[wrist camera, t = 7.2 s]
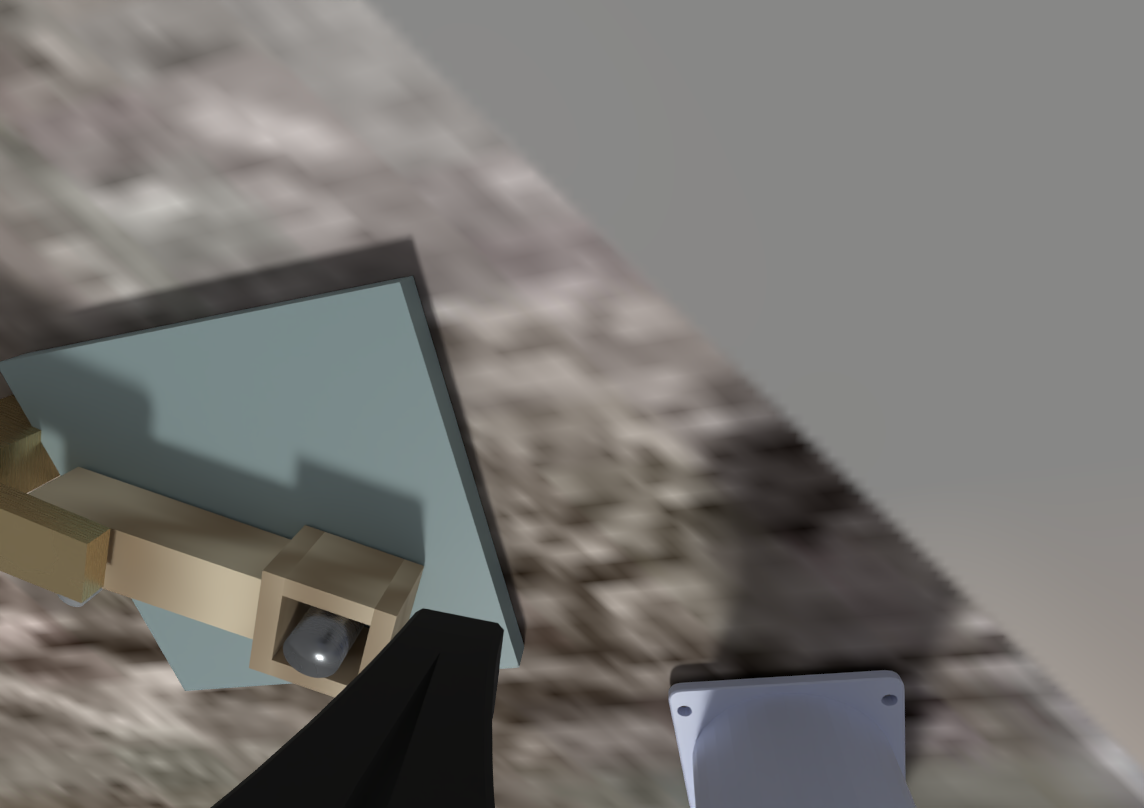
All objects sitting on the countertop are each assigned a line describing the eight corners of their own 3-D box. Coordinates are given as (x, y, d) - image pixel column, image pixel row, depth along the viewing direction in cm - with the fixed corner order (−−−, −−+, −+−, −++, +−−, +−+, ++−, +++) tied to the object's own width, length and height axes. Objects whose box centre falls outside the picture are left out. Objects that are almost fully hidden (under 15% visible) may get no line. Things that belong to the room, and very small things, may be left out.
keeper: (11, 450, 22) (-135, 517, 18) (13, 394, 21) (-141, 452, 17) (184, 522, 22) (79, 604, 18) (193, 470, 21) (85, 545, 17)
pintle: (397, 589, 22) (348, 675, 18) (353, 593, 22) (296, 679, 19) (382, 549, 21) (327, 630, 18) (337, 553, 22) (273, 634, 18)
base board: (524, 646, 22) (505, 723, 19) (202, 671, 25) (140, 742, 22) (412, 275, 17) (363, 300, 14) (25, 353, 20) (-86, 388, 17)
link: (424, 566, 20) (396, 616, 18) (399, 653, 22) (371, 709, 20) (77, 446, 20) (7, 482, 18) (79, 544, 22) (15, 588, 19)
